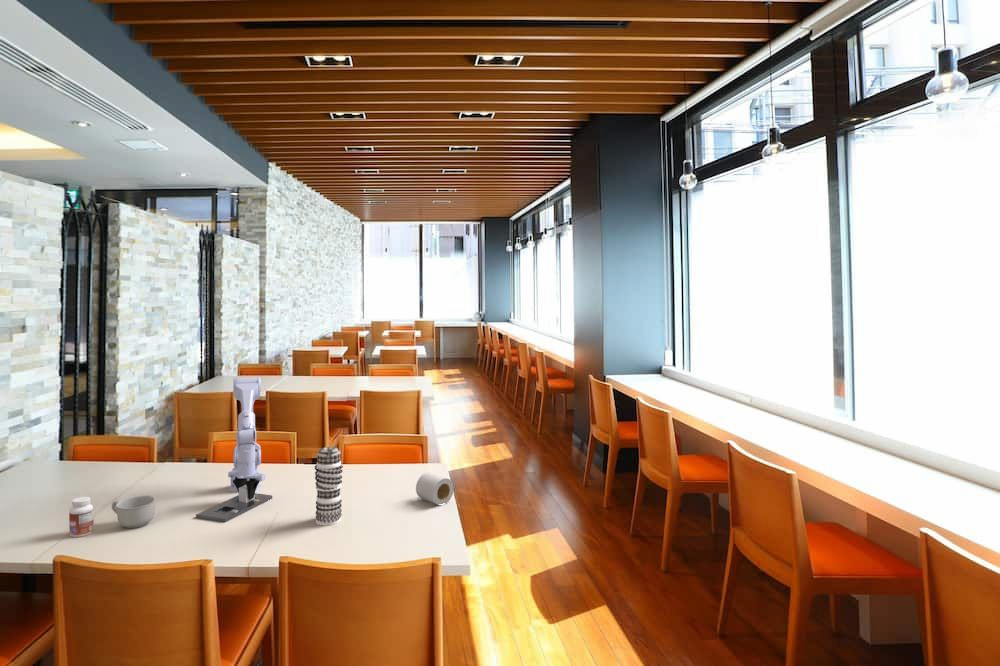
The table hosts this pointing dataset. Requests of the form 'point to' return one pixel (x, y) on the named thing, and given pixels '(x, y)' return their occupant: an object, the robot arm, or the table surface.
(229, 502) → the panel
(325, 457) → the grey patterned cylinder
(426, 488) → the toilet paper
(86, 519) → the pill bottle
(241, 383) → the robot arm
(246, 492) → the plug
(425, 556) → the table surface
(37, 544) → the table surface
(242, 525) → the table surface
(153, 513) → the teacup
